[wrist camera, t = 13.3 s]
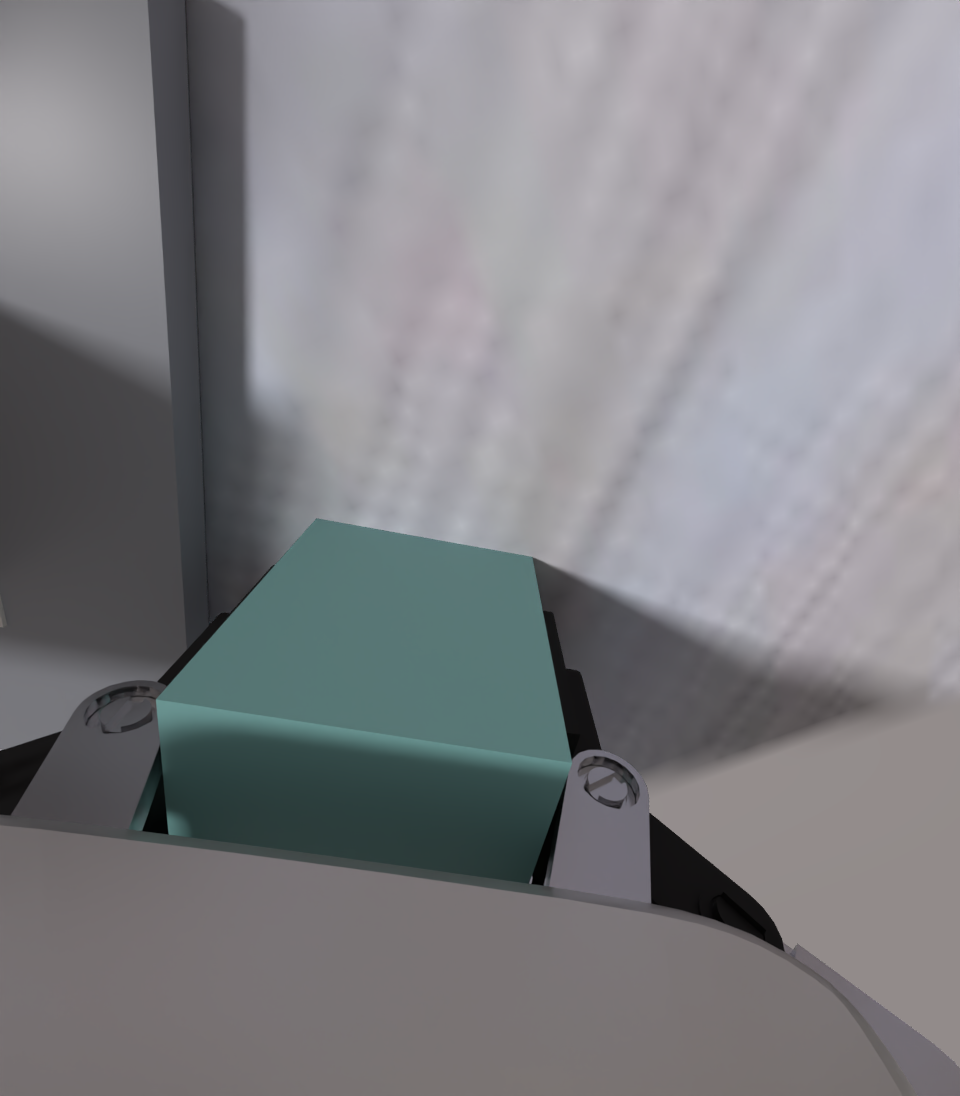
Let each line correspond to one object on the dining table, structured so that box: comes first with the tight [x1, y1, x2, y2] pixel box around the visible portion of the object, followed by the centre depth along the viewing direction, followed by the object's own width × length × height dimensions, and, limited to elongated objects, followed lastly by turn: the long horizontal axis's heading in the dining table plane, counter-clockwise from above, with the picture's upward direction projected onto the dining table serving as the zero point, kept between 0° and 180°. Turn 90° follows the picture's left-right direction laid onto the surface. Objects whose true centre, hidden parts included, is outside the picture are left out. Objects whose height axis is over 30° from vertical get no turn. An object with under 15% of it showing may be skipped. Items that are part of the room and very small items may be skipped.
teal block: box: [156, 518, 572, 884], centre depth 10 cm, size 5×5×6 cm
